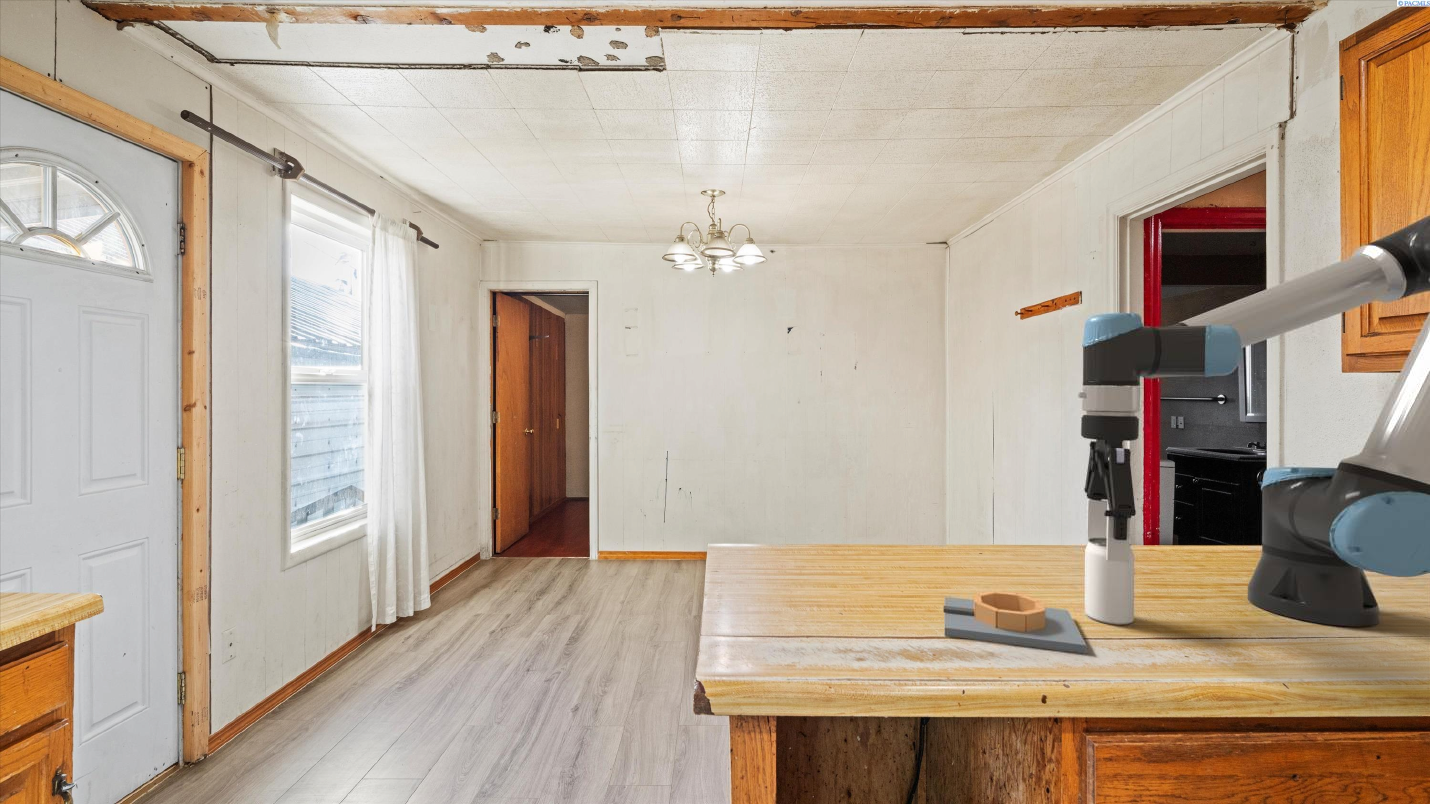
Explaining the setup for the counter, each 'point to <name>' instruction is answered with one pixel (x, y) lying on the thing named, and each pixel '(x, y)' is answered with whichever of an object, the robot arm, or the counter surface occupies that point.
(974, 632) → the board
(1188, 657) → the counter surface
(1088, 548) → the can
